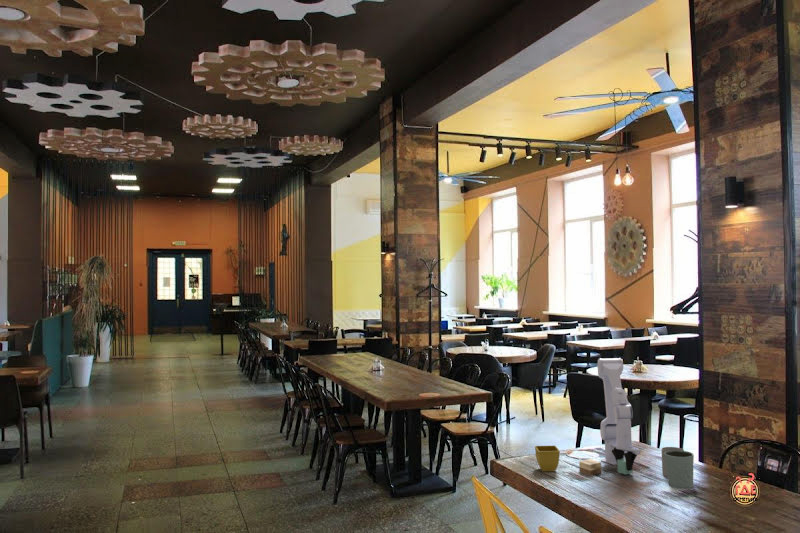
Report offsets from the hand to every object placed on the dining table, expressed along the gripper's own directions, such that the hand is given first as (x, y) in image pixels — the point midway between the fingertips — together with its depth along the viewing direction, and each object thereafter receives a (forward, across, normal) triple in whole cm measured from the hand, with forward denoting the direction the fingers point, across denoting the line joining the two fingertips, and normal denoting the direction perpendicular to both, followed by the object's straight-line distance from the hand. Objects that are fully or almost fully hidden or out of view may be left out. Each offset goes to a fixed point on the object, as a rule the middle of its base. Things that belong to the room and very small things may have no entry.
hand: (625, 468), depth 265 cm
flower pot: (+2, -22, -21) cm, 31 cm away
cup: (+2, +11, +15) cm, 19 cm away
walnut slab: (+3, -10, -9) cm, 14 cm away
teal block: (+2, 0, 0) cm, 2 cm away
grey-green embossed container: (+2, +21, +6) cm, 22 cm away
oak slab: (0, -10, -9) cm, 13 cm away
